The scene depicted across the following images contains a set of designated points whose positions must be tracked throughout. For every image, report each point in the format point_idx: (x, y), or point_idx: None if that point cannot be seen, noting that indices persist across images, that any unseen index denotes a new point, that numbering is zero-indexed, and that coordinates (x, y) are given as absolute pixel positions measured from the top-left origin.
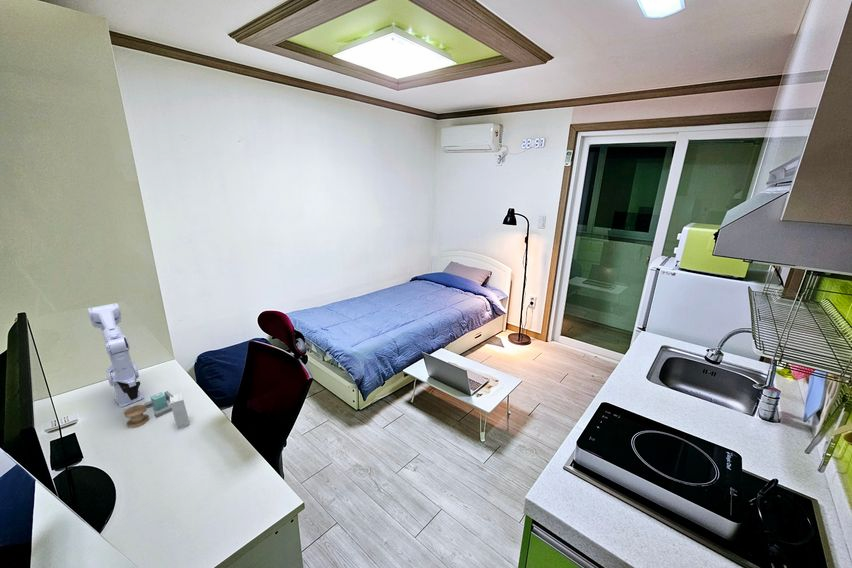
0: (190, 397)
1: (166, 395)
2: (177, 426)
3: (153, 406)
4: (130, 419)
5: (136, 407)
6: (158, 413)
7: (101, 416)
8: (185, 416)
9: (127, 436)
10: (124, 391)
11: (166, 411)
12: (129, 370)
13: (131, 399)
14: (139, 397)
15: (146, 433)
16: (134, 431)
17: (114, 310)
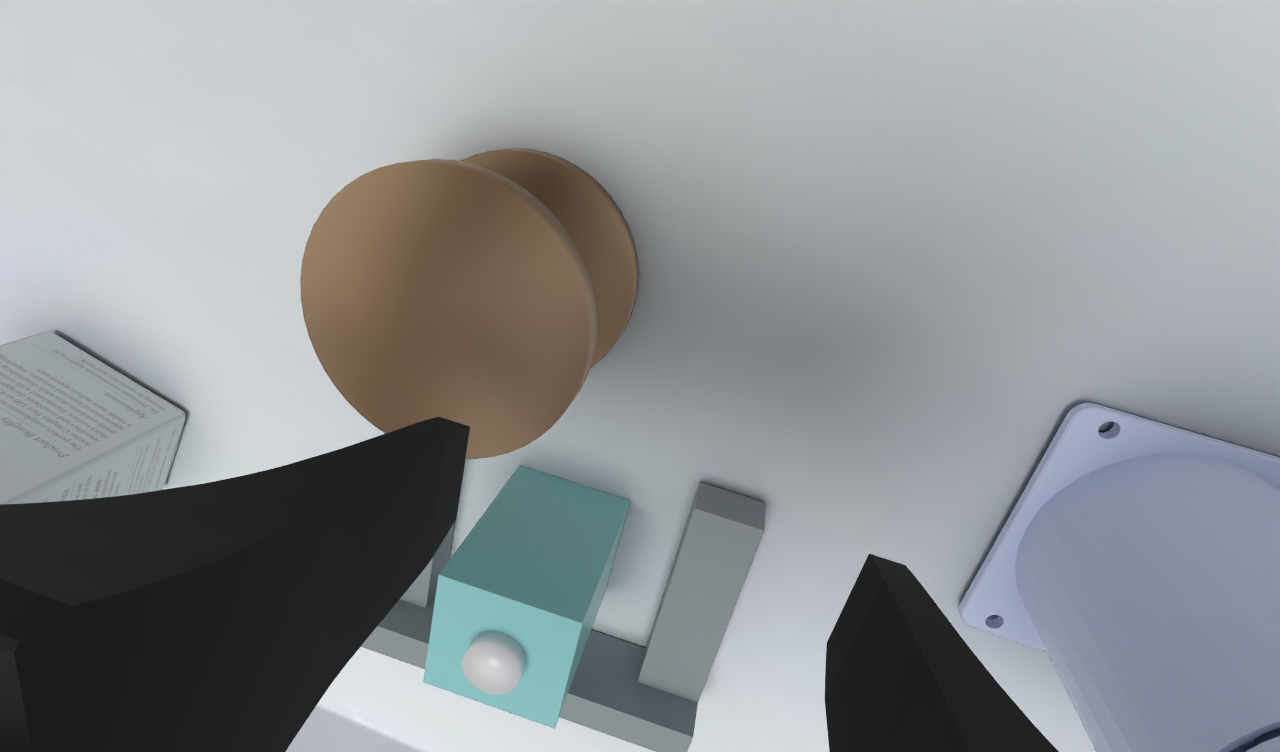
0: (466, 715)
1: (634, 695)
2: (23, 343)
3: (601, 515)
4: (619, 248)
5: (499, 376)
6: (385, 433)
7: (1201, 147)
8: None
9: (336, 21)
10: (874, 595)
11: None
12: None
13: (419, 427)
14: (1024, 613)
15: (217, 159)
16: (368, 124)
17: None
